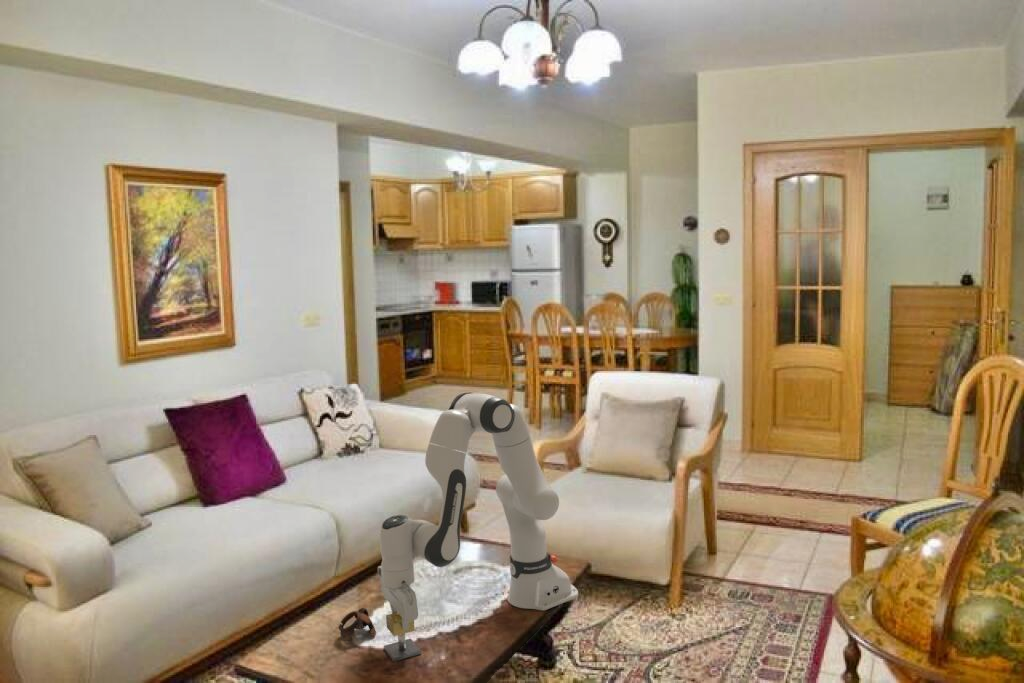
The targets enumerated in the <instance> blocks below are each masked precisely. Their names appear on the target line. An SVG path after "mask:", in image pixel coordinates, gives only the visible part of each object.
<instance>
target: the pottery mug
mask: <svg viewBox="0 0 1024 683" xmlns="http://www.w3.org/2000/svg"><path fill="white" fill-rule="evenodd" d="M352 618H354V619H355V620H354V622H353V623H352V624H350V625H349V626H347V627H345V625H346V623H347V622H348V621H349V620H351V619H352ZM340 623H341V624H339V625H338V630H339V633H340V636H341V637H342V638H347V637H348V638H349V637H350V636H353V637H356V634H355V630H364V629H365V627H367V626H368V630H369V629H370V630H369V631H370V633H369V634H370V635H371V638H372V637H373V638H372V639H374V638H375V637H376V635H377V631H376V629H375V626H374V624H373V622H372V620H371V618H370V617H369V611H368V609H367V608H366V607H361V608H359V609H358V610H353V611H351V612H349V613H348V614H346V615H345V616H344V617H343V618H342V619H341V620H340ZM344 627H345V628H344Z"/></svg>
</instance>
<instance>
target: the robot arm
mask: <svg viewBox="0 0 1024 683" xmlns="http://www.w3.org/2000/svg"><path fill="white" fill-rule="evenodd" d="M529 431H530V430H529V428H528V424H527V422H526V420H525V417H524V415H523V413H522V410H521V409H520V407H518V405H515V404H514V403H509V402H508V401H507V400H506V399H504V398H503V397H499V396H494V395H492V394H488V393H477V392H476V393H475V392H474V393H473V392H463V393H460V394H458V395H457V396H456V397H454V398H453V400H452V402H451V404H450V406H449V408H448V409H447V410H444V411H442V412H441V413H440V415H439V417H438V419H437V420H436V423H435V425H434V428H433V430H432V433H431V435H430V439H429V442H428V445H427V448H426V453H425V460H424V462H425V464H424V465H425V467H426V470H427V472H428V473H429V474H430V476H431V477H432V478H433V479H434V480H435V482H436V483H437V484H438V486H439V487H440V489H441V492H442V502H441V508H440V514H439V521H438V524H435V523H432V522H430V521H427V520H425V519H419V518H418V519H412V518H410V517H408V516H406V515H403V514H397V515H392V516H390V517H388V518H386V519H385V520H383V522H382V524H381V527H380V530H379V531H380V533H379V549H380V550H379V551H380V555H381V559H382V560H381V564H380V565H379V566H377V574H378V575H379V581H380V582H379V583H380V588H381V590H380V591H381V593H382V595H383V597H384V598H385V599H386V600H387V602H388V603H389V606H390V609H391V614H393V613H397V612H398V613H399V615H400V616H401V617H402V622H401V627H402V629H403V630H407V629H409V622H410V621H413V620H414V621H416V620H417V619H418V618H419V610H418V609H419V608H418V599H417V595H416V591H414V589H413V588H412V587H411V585H412V584H413V583H414V582H415V566H414V565H415V564H414V559H416V558H421V559H423V560H424V561H425V560H426V561H427V562H429V563H430V564H432V565H433V566H434V567H437V568H443V567H446V566H448V565H450V564H452V563H453V562H454V561H455V560H456V559H457V557H458V555H459V552H460V549H461V548H460V547H461V525H462V518H463V512H464V505H465V498H466V497H465V496H466V490H467V478H466V475H465V462H466V460H465V459H466V457H467V456H466V455H467V452H468V448H469V444H470V439H471V437H472V436H473V434H475V432H483V433H489V434H491V435H492V439H493V443H494V447H495V451H496V454H497V459H498V462H499V466H500V468H501V470H502V472H503V473H504V474H503V475H502V476H501V477H499V479H498V481H497V482H496V485H495V493H496V496H497V498H498V499H499V502H500V503H501V506H502V509H503V512H504V515H505V518H506V519H505V520H506V521H507V527H508V530H509V542H510V556H509V572H510V584H509V591H508V595H507V599H506V600H507V601H508V603H509V605H512V606H514V607H516V608H520V609H526V610H527V609H530V610H531V609H532V610H537V611H546V610H549V609H551V608H554V607H557V606H559V605H561V604H564V603H567V602H568V601H571V600H573V599H576V598H578V597H579V591H578V589H577V588H576V586H574V585H573V584H572V583H571V580H570V578H569V575H568V574H567V573H566V572H565V571H564V570H562V569H561V568H560V567H558V566H556V565H554V564H557V563H558V561H559V559H558V556H555V555H553V554H552V555H551V553H549V552H547V536H546V535H547V534H546V529H545V527H544V525H543V524H542V521H548V520H551V518H553V517H554V516H555V515H556V513H558V510H559V506H560V499H559V495H558V493H557V492H556V491H555V490H554V489H553V487H552V486H551V484H550V483H549V482H548V479H547V478H546V476H545V474H544V472H543V470H542V468H541V466H540V463H539V462H538V459H537V457H536V453H535V450H534V446H533V443H532V440H531V435H530V432H529Z"/></svg>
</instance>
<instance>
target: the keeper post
mask: <svg viewBox="0 0 1024 683" xmlns="http://www.w3.org/2000/svg"><path fill="white" fill-rule="evenodd" d="M397 640H398V641H397V642H393V643H389V644H386V645H383V650H384V651H385V653H386V654H387V655H388V656H389V658H390V659H391V660H392V662H393V663H395V662H398V661H401V660H405V659H408V658H411V657H416V656H419V655H422V650H421V649H420V648H419V646H417V644H416V642H414V640H413V639H412V638H407V639H406V633H404V634H401V635H397Z"/></svg>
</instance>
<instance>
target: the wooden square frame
mask: <svg viewBox="0 0 1024 683" xmlns="http://www.w3.org/2000/svg"><path fill="white" fill-rule="evenodd" d="M385 619H386V628H387V630H388V631H389V632H390V633H391V635H392V636H393V637H398V635H401V634H404V633H405V634H408V633H411V632H414V631H415V620H413V621H410V622H409V629H407V630H403V629H402V627H401V622H402V617H401V616H400V615H399V613H398V612H397V613H393V614H392V613H390V614H387V615H386V616H385Z"/></svg>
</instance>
